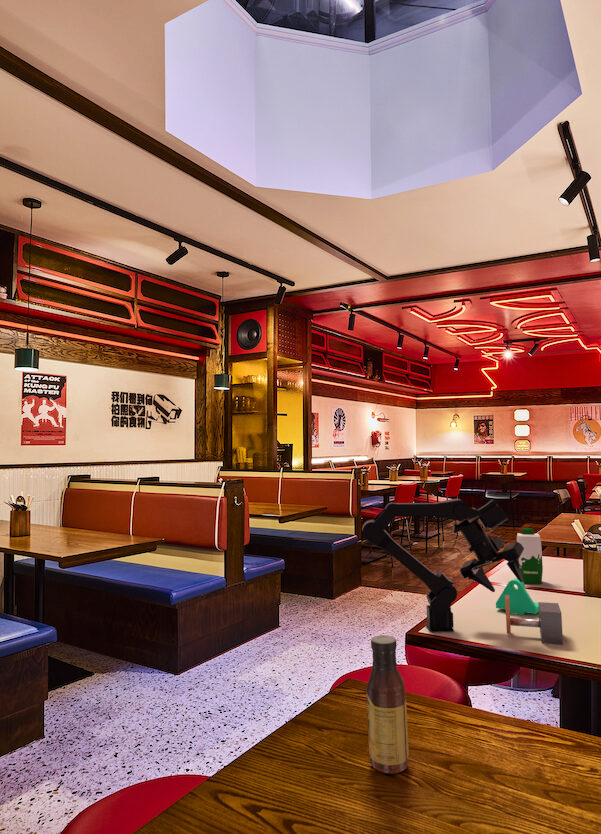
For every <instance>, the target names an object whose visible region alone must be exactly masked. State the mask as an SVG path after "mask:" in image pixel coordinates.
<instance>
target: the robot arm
mask: <svg viewBox="0 0 601 834" xmlns="http://www.w3.org/2000/svg"><path fill="white" fill-rule="evenodd" d="M396 517H439V518H443V519H448V520H454V521H460V522H459V523H456V522H452V528H451V532H452V533H453V534H457V533H458V532H460V533H461V535H462V537H463V538H464V540H465V541H466V543H467V544H468V546H469V548H468V550H469V552H471V553H472V552H473V554H474V555H475V557H476V558H477V559H476V558H472V559H470V560H467V561H465V562H464V563H463V564H462V566H461V567H460V568H459V573H460V575H461V577H462V578H463V579H464V580H465V579H468V580H471V581H474V582H476V583H478V584H479V585H481V586H483V587H484V588H485V589H487V590H489V591H491V593H495V592H496V589H495V587H494V585H493V584H492V582H491V580H489V578H488V577H487V575H486V573H485V570H484V567H486V566H489V565H491V564H493V563H496V562H498V561H501V560H504V561H507V563H506V566H507V567H508V568H509V569H510V571H511V572H512V573H513V575H514V576H515V578H516V579H518V580H519V581H520V582H523V578H522V574H521V570H520V566H519V557H520V556H521V554H522V552H523V550H524V548H523V546H522V545H521V544H520V543H518V542H517V541H515V542H512V543H510V544H509V543H508V544H507V545H505V544H504V542H503V541H502V538H501V536H498V537H494V538H492V537H491V535H490V534H487V533H486V532H485V531H484V529H485V530H487V529H489V530H490V531H492V530H493V529H495V528H496V527H498V526H500V525H501V524H503V523H505V522H506V521H508V520H509V517H508V516H507V514H506V512H505V511H504V510H503V509H502V508H501V507H500V506H499V504H498V503H497V502H496V501H495V500H494V499H491V500H489V501H488V502H487V503H486V504H484V505H483V506H481V507H479V508H476V507H470V506H469V504H468V503H467V502H466V501H464V500H462V499H460V498H451V499H446V500H441V501H438V502H401V503H400V502H388V503H387V504H386V506H385V507H384V508H383V509H382V510H381V511H380V512H379V513H378V514H377V515H376V516H375V517H374V518H373V519H368V520H367V521H365V522H364V523H363V525H362V531H361V533H362V536H363V539H365V541H367V542H368V543H370V544H372V545H374V546H376V547H377V548H379V549H382V550H384V551H386V552H387V553H388V554H389V555H390V556H392V557H393V558H394V559H395V560H397V561H398V562H399V563H400V564H402V566H404V567H405V568H406V569H407V570H409V571H410V573H412V574H413V575H415V576H416V577H417V578H418V579H419V580H420V581H421V582H423V583H424V585H426V587H427V589H429V591H430V592H429V593H427V594H426V595H425V596H426V600H427V602H428V604H427V605H426V623H425V627H426V628H427V629H428V631H430V632H431V633H447V632H448V633H449V632H451V633H452V632H455V629H454V613H453V612H452V607H451V606H452V603H454V601H456V599H457V596H458V591H457V588H456V587H455V586H454V585H455V583H454V581H453V580H452V578H451V577H448V576H446V575H445V574H444V573H443V572H442V571H441V570H440V569H439V570H438V571H437V572H434V571H432V570H431V569H429V568H428V567H427V566H425V564H423V563H422V562H421V561H420V560H418V559H417V558H416V557H415V556H413V555H412V554H411V553H410V552H408V550H406V549H405V548H404V547H403V546H402V545H400V544H399V543H398V542H396V541H395V540H394V539H393V538H392V536H391V535H390V534H389V532H387V531H386V528H387V527H388V526H389V525H390V524H391V523H392V521H393V520H394V519H396ZM467 518H471V519H469V520H468V519H467ZM483 528H484V529H483ZM501 549H503V550H502V551H500V550H501Z"/></svg>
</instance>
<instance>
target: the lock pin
mask: <svg viewBox="0 0 601 834" xmlns="http://www.w3.org/2000/svg"><path fill="white" fill-rule="evenodd" d="M505 606H506V609H505V623H506V625H505V626H506V634H509V635H510V634H511V633H512V632H511V630H512V629H511V626H512V627H513V626H514V627H525V628H526V627H527V628H528V627H529V628H539V629H540V628H541V625H540V620H539V619H535V618H534V619H533V618H520V617H518V618H517V617H511V613H510V605H509V595H505Z"/></svg>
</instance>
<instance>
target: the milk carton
mask: <svg viewBox="0 0 601 834" xmlns="http://www.w3.org/2000/svg"><path fill="white" fill-rule="evenodd" d="M516 542H518V543H520V544H521V545H522V546H523V548H524V550H523V552H522V554H521V556H520V557H519V566H520V570H521V574H522V578H523V582H524V585H525V584H528V585H542V584H543V582H542V581H543V571H544V570H543V568H544V565H543V553H542V552H543V551H542V549H543V547H542V539H541V536H540V534H539V533H534V528H532V527H531V528H530V527H522V528H521V533H519V532H517V535H516Z"/></svg>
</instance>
